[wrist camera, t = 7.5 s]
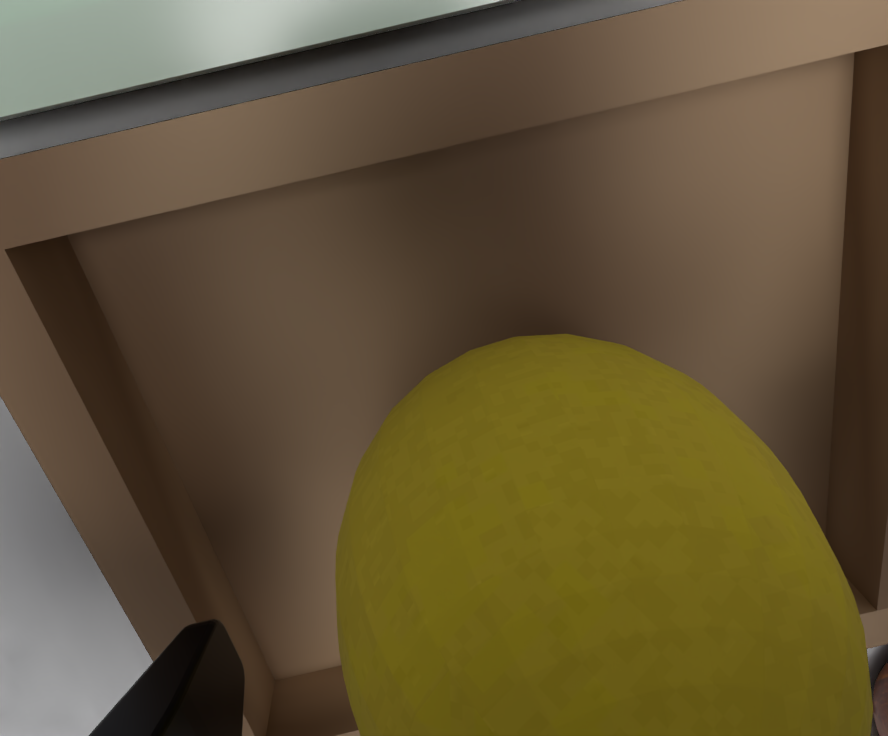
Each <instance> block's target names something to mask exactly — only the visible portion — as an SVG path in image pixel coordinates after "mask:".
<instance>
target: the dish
mask: <svg viewBox="0 0 888 736" xmlns="http://www.w3.org/2000/svg"><path fill="white" fill-rule="evenodd" d="M516 1H521V0H0V121H4V120H9V119H13V118H17V117H22V116H26V115H30V114H35V113H39V112H43V111H48V110H52V109H56V108H60V107H65V106H69V105H73V104H78V103H82V102H86V101H91V100H95V99H99V98H103V97H108V96H112V95H116V94H121V93H125V92H129V91H134V90H138V89H142V88H146V87H151V86H155V85H159V84H164V83H168V82H172V81H177V80H181V79H185V78H189V77H194V76H198V75H202V74H207V73H211V72H215V71H220V70H224V69H228V68H232V67H237V66H241V65H245V64H250V63H254V62H258V61H263V60H267V59H271V58H276V57H280V56H284V55H288V54H293V53H297V52H301V51H306V50H310V49H314V48H319V47H323V46H327V45H331V44H336V43H340V42H344V41H349V40H353V39H357V38H362V37H366V36H370V35H374V34H379V33H383V32H387V31H392V30H396V29H400V28H405V27H409V26H413V25H417V24H422V23H426V22H430V21H435V20H439V19H443V18H448V17H452V16H456V15H461V14H465V13H469V12H473V11H478V10H482V9H486V8H491V7H495V6H499V5H504V4H508V3H512V2H516Z"/></svg>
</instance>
